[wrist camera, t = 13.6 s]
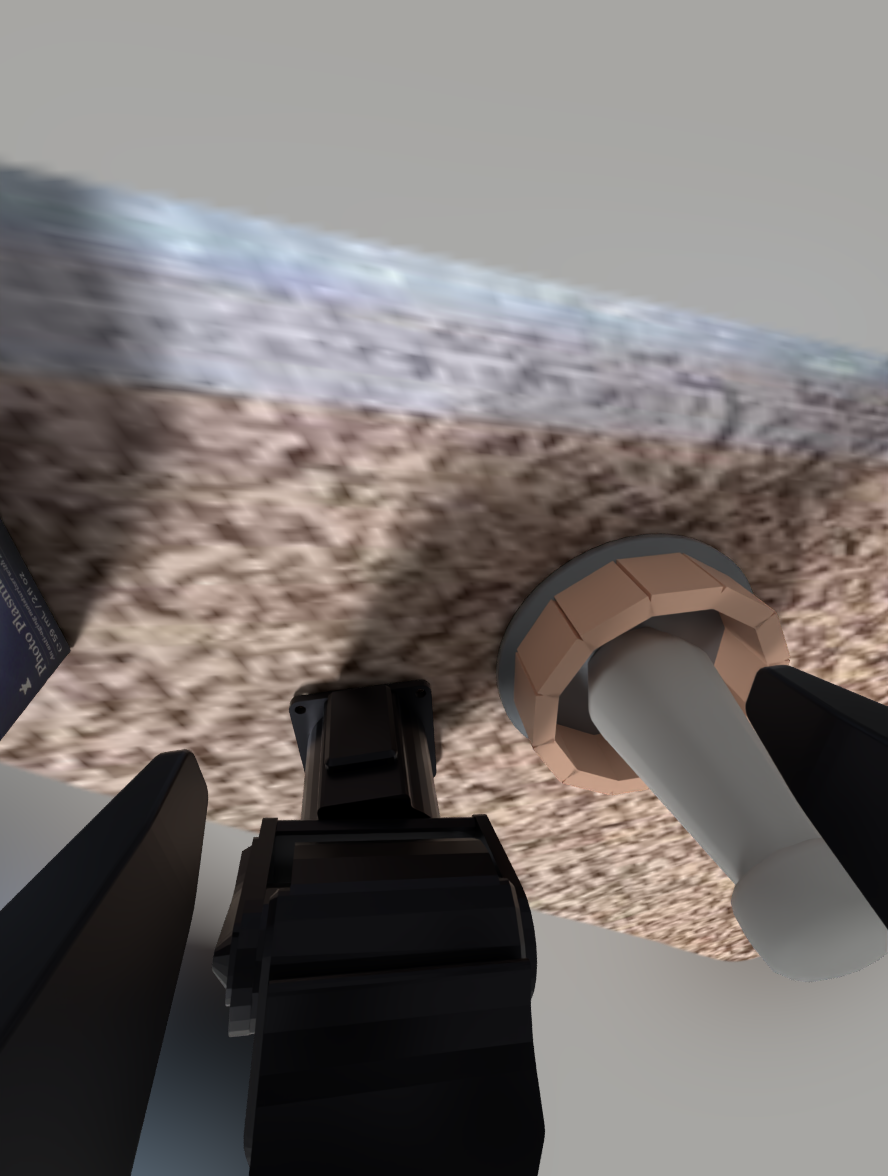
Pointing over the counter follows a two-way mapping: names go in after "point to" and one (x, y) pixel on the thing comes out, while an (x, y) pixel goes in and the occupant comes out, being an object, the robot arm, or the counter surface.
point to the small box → (23, 636)
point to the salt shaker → (732, 804)
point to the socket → (608, 609)
